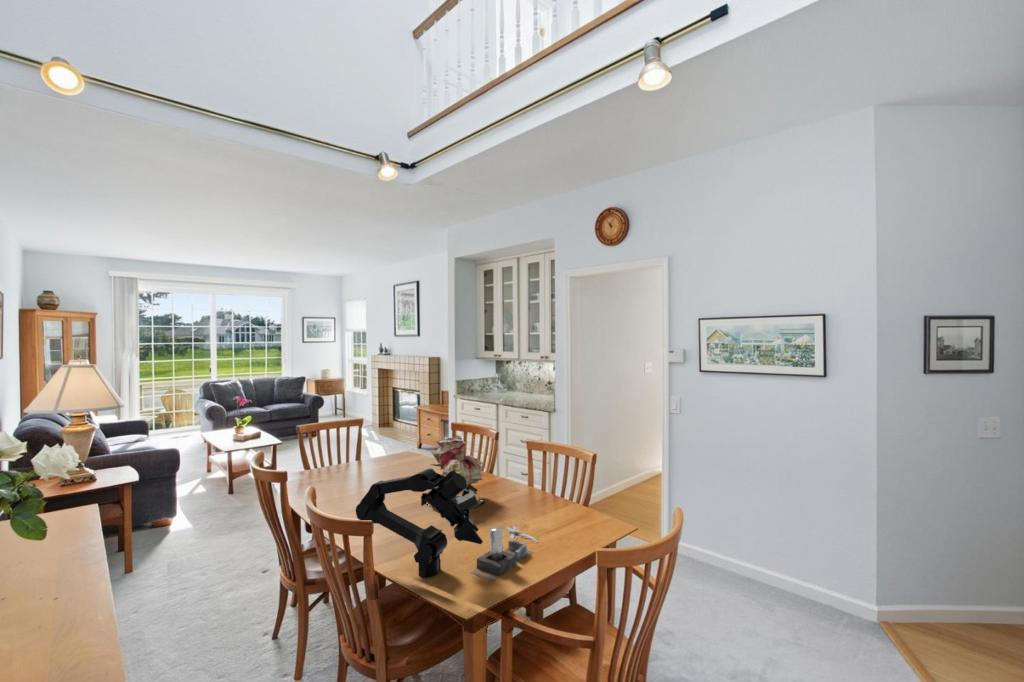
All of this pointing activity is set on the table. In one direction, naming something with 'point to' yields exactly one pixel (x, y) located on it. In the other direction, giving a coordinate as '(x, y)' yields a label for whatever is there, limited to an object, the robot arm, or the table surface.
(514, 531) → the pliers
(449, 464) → the rose bouquet
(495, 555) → the axle
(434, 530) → the robot arm
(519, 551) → the block with square hole
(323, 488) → the table surface
